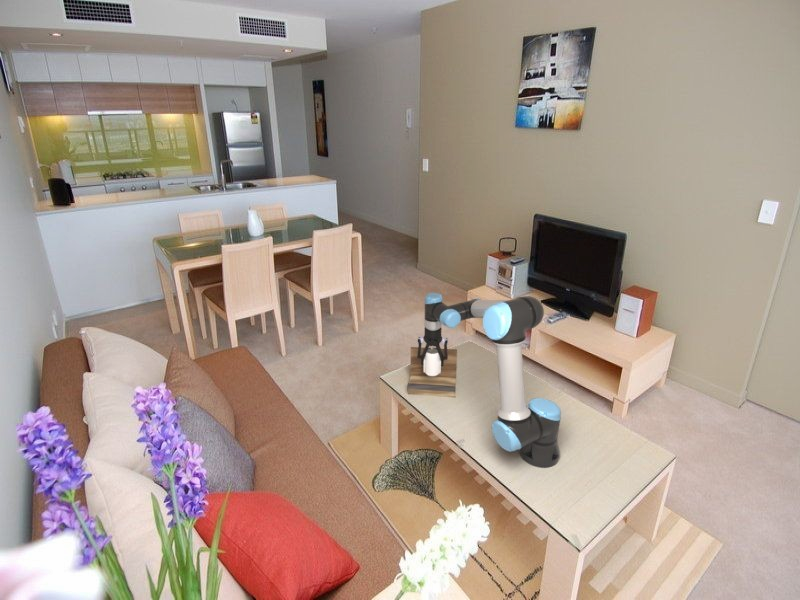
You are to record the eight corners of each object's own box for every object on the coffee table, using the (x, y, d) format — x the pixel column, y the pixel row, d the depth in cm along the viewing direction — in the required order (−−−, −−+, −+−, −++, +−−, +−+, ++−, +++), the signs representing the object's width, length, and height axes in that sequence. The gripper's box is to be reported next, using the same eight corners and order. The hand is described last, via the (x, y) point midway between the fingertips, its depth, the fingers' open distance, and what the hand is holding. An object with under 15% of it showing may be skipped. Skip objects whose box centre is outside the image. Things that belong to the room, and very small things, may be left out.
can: (441, 375, 213) (441, 352, 208) (427, 377, 211) (428, 355, 207) (436, 368, 219) (436, 346, 214) (423, 370, 217) (423, 348, 212)
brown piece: (455, 397, 214) (456, 363, 207) (408, 394, 217) (407, 361, 210) (455, 381, 226) (457, 349, 219) (411, 378, 229) (410, 346, 222)
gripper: (455, 324, 208) (453, 368, 217) (412, 322, 210) (412, 365, 219) (454, 331, 201) (453, 376, 210) (410, 329, 203) (410, 374, 212)
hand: (432, 371), depth 215 cm, fingers closed on can, 6 cm apart
